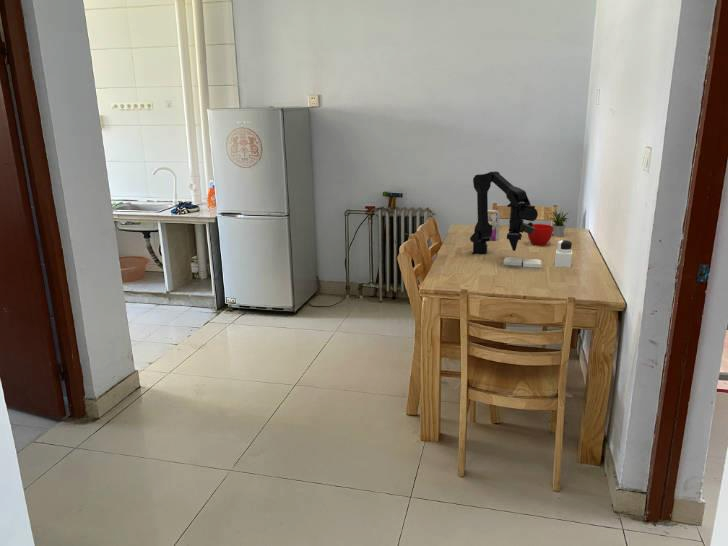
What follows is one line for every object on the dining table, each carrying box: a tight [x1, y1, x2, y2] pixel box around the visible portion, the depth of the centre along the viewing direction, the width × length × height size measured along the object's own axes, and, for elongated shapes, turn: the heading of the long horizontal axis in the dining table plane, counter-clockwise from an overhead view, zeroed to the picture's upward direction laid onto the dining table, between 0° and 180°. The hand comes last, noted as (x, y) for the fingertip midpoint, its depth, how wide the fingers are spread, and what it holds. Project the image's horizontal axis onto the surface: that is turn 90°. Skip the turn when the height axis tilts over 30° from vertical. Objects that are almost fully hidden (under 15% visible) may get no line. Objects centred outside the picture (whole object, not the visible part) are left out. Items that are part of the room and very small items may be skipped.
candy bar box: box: [488, 209, 501, 242], centre depth 318 cm, size 11×5×16 cm, turn 58°
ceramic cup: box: [527, 223, 553, 247], centre depth 306 cm, size 13×17×10 cm
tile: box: [503, 256, 524, 267], centre depth 267 cm, size 8×2×8 cm
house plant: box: [547, 207, 571, 238], centre depth 325 cm, size 14×14×16 cm
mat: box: [503, 263, 541, 270], centre depth 268 cm, size 16×16×1 cm
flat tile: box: [523, 258, 543, 269], centre depth 263 cm, size 8×8×2 cm
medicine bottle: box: [554, 239, 573, 269], centre depth 263 cm, size 7×7×12 cm
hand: (514, 250), depth 267 cm, fingers closed
